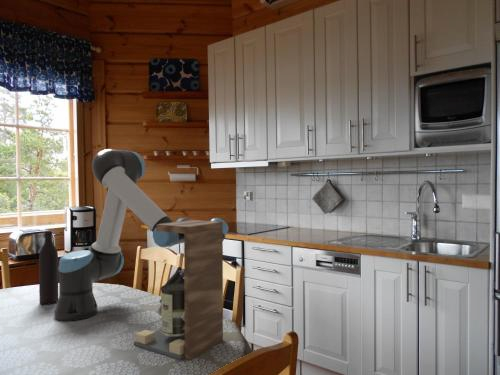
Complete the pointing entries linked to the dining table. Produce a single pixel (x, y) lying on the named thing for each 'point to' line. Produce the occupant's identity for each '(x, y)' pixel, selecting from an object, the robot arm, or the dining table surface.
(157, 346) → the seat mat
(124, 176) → the robot arm
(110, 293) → the dining table surface
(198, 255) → the walnut shelf
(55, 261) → the wine bottle
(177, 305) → the coffee can
